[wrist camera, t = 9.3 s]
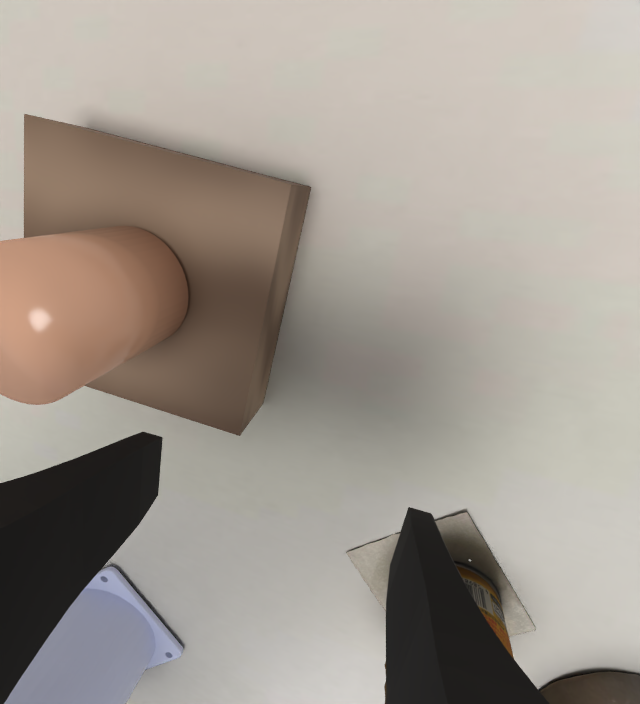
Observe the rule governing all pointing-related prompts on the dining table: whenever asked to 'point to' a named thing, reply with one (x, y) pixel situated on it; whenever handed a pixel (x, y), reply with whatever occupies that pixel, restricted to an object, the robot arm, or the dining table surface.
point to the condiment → (477, 574)
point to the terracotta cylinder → (82, 307)
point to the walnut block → (180, 259)
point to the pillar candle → (595, 689)
